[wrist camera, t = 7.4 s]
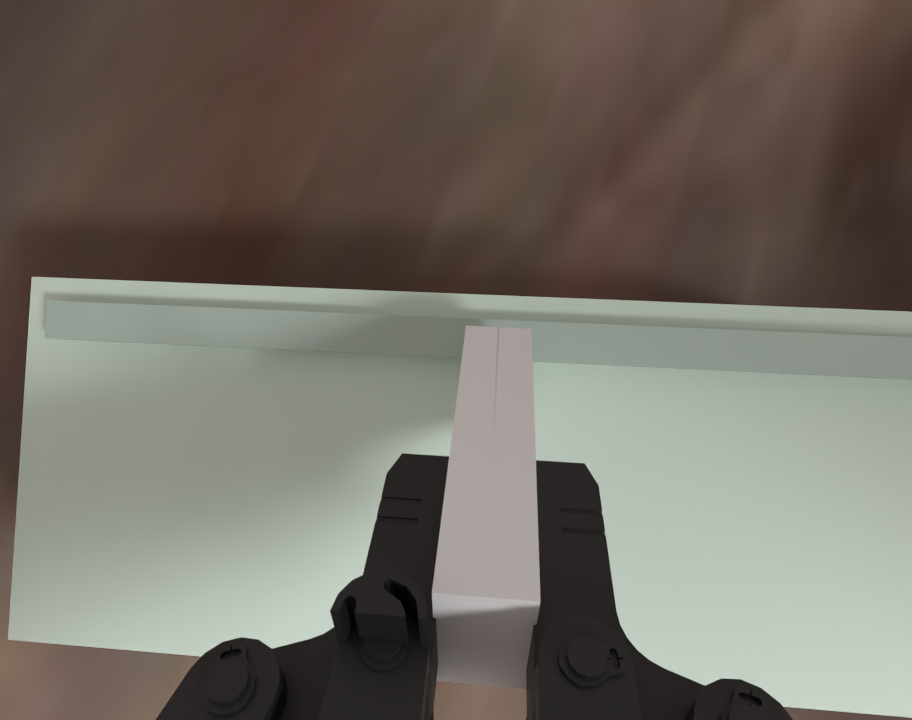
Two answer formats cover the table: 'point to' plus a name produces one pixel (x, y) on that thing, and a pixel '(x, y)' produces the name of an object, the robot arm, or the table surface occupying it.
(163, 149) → the table surface
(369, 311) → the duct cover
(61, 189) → the table surface
